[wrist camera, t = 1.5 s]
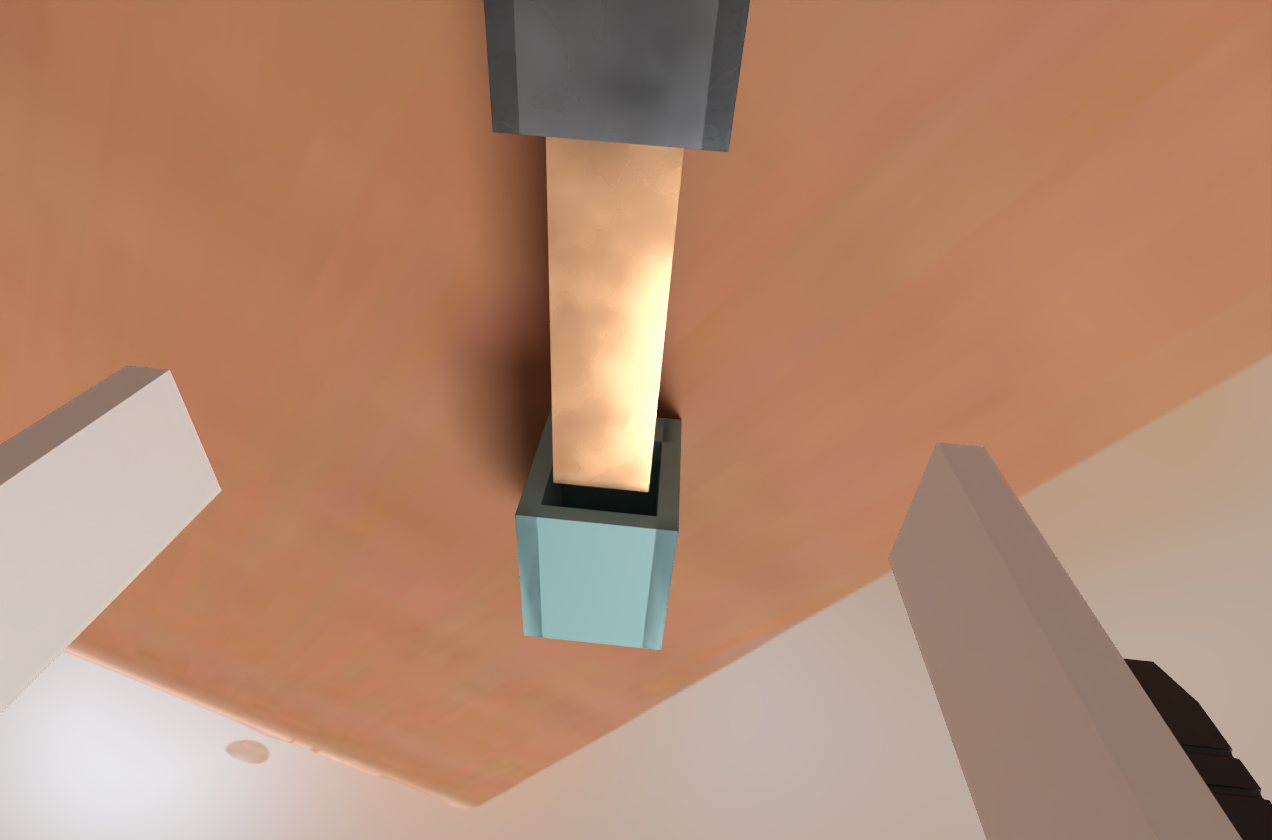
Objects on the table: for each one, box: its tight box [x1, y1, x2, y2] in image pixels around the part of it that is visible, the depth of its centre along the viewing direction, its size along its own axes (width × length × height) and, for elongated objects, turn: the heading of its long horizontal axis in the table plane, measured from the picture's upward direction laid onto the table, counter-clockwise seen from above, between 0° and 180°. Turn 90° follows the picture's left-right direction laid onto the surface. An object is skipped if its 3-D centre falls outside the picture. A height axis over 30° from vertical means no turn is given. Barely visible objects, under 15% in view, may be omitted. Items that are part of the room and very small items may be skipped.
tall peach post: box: [546, 137, 684, 492], centre depth 22 cm, size 26×4×4 cm, turn 176°
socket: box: [515, 407, 681, 650], centre depth 33 cm, size 9×7×9 cm
